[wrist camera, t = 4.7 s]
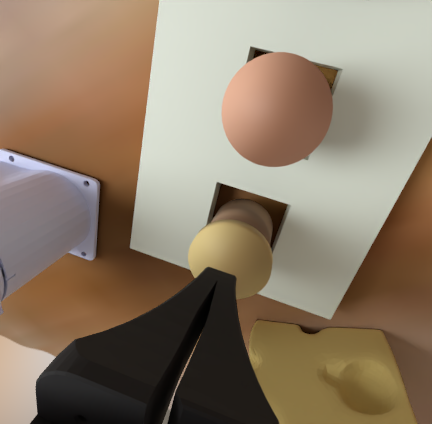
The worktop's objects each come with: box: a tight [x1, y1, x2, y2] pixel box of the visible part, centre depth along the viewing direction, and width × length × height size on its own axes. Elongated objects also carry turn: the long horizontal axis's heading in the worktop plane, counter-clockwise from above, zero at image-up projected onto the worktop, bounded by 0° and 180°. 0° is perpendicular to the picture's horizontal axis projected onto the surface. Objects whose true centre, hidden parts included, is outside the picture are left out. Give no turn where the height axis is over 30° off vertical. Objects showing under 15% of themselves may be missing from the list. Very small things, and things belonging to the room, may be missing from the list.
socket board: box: [130, 0, 432, 320], centre depth 18 cm, size 16×26×2 cm, turn 167°
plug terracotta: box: [222, 52, 333, 167], centre depth 15 cm, size 5×5×5 cm
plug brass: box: [188, 199, 273, 299], centre depth 18 cm, size 5×5×5 cm
